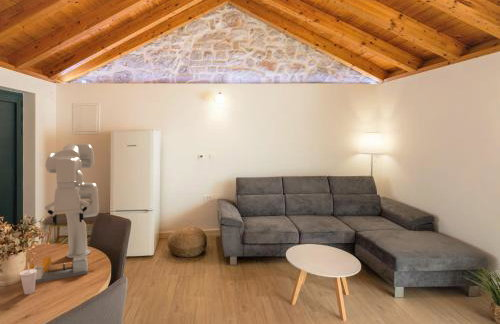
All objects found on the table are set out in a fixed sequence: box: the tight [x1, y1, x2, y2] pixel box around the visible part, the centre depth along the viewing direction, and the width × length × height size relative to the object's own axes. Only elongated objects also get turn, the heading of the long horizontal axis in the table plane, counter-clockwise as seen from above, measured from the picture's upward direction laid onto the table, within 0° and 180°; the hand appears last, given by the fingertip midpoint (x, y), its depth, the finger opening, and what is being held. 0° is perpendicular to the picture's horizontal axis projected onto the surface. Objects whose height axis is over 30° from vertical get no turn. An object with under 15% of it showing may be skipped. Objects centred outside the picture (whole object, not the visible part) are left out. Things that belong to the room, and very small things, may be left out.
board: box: [35, 265, 89, 284], centre depth 154 cm, size 8×24×1 cm, turn 116°
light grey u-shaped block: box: [33, 264, 43, 280], centre depth 150 cm, size 6×3×5 cm, turn 26°
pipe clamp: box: [25, 256, 53, 273], centre depth 156 cm, size 12×4×6 cm, turn 169°
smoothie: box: [18, 262, 37, 295], centre depth 137 cm, size 6×6×14 cm
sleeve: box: [72, 255, 88, 273], centre depth 157 cm, size 6×6×6 cm
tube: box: [47, 261, 73, 273], centre depth 155 cm, size 4×16×4 cm, turn 116°
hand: (68, 222), depth 138 cm, fingers open, 9 cm apart
